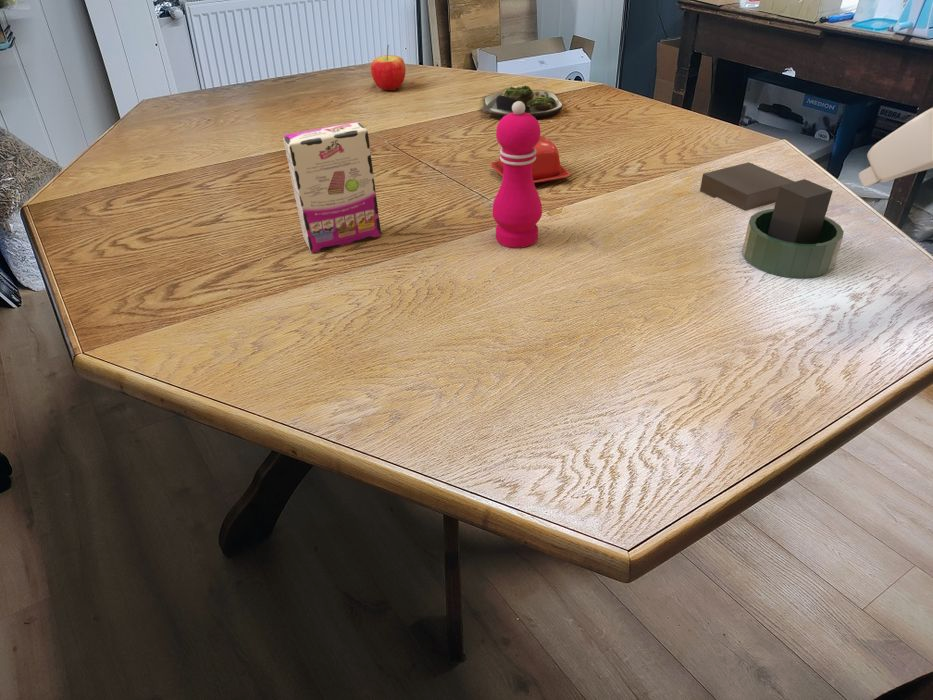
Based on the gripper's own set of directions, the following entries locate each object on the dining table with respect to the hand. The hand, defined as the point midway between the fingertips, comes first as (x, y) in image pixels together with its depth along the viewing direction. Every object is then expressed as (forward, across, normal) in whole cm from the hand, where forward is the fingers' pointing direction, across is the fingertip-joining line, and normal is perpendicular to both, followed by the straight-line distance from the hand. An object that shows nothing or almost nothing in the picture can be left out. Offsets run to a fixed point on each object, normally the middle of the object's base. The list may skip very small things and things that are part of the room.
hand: (894, 171), depth 77 cm
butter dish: (+50, +15, -27) cm, 59 cm away
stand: (+32, -11, -9) cm, 35 cm away
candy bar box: (+45, +52, -22) cm, 72 cm away
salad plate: (+74, -3, -51) cm, 90 cm away
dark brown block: (+19, 0, +4) cm, 19 cm away
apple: (+97, +16, -74) cm, 123 cm away
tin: (+19, 0, +4) cm, 19 cm away
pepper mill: (+36, +29, -13) cm, 48 cm away
